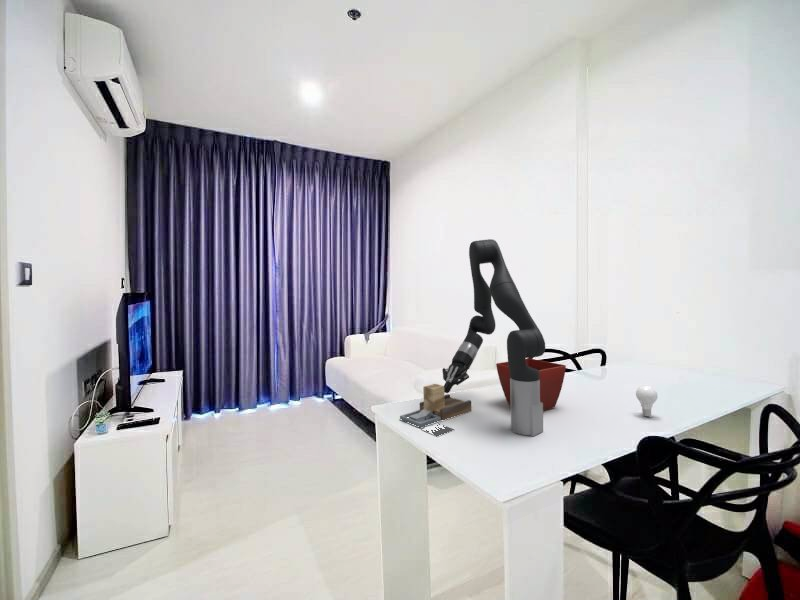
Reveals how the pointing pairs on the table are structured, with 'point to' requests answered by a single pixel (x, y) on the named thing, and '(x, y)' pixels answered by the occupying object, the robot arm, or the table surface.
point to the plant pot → (548, 380)
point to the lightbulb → (646, 399)
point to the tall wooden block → (434, 397)
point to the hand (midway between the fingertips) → (445, 391)
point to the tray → (430, 420)
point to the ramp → (451, 407)
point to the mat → (441, 430)
